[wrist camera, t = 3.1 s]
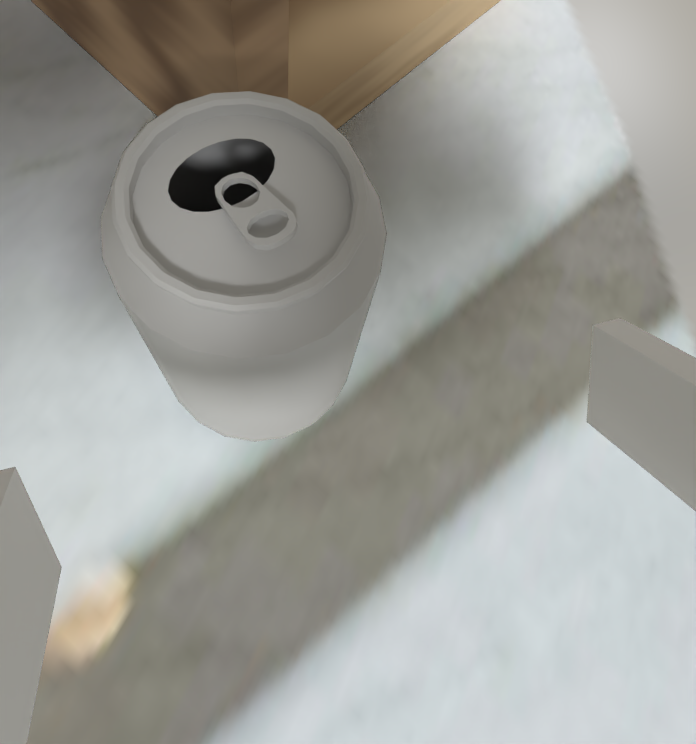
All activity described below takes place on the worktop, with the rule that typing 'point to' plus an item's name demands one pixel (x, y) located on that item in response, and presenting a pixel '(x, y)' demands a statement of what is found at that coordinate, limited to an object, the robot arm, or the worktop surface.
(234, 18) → the wooden l-shaped piece
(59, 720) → the worktop surface
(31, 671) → the robot arm
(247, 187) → the can
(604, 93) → the worktop surface
